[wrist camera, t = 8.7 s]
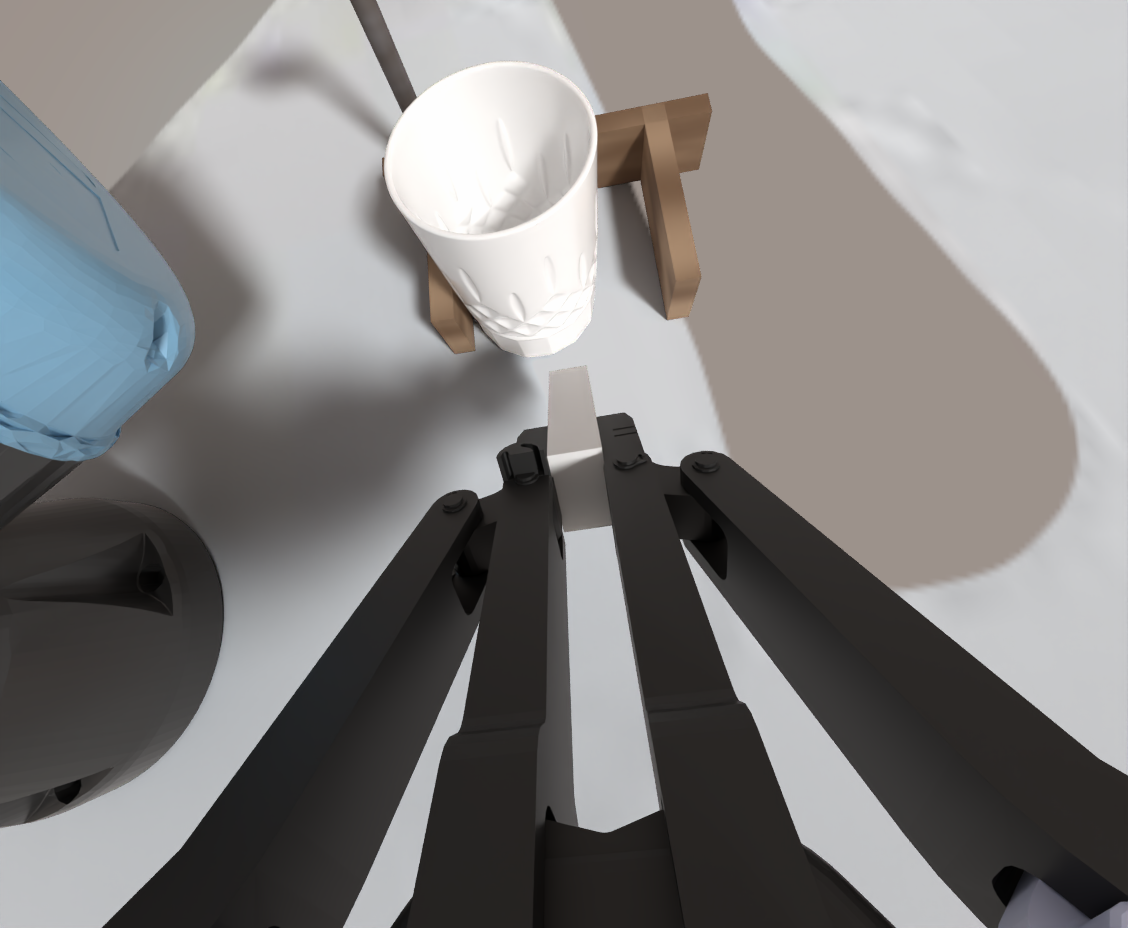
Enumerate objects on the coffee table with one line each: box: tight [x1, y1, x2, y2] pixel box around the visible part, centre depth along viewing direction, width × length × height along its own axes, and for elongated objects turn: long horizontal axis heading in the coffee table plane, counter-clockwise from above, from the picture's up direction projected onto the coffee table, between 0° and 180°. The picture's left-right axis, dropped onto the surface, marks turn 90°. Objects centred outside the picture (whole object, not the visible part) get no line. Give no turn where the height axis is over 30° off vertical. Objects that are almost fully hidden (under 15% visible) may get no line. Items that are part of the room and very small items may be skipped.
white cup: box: [384, 61, 598, 358], centre depth 20 cm, size 8×8×10 cm
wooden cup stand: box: [350, 0, 712, 354], centre depth 18 cm, size 12×20×16 cm, turn 97°
